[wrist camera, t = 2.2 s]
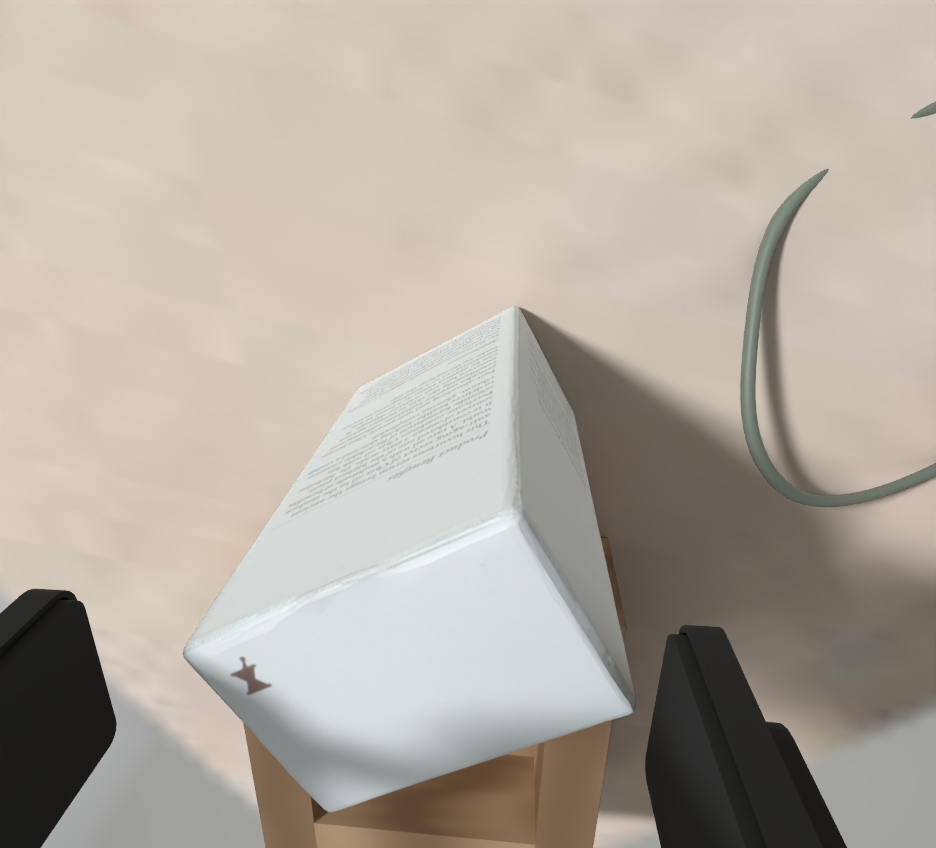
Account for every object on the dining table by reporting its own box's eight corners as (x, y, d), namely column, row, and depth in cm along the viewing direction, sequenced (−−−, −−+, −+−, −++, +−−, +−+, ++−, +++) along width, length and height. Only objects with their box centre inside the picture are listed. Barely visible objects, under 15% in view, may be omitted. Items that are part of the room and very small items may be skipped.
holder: (607, 538, 22) (626, 627, 18) (577, 772, 27) (587, 885, 23) (276, 517, 23) (221, 598, 19) (305, 748, 28) (266, 852, 24)
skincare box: (423, 486, 22) (319, 824, 11) (357, 385, 20) (162, 653, 10) (582, 413, 20) (648, 723, 9) (521, 297, 19) (514, 500, 8)
